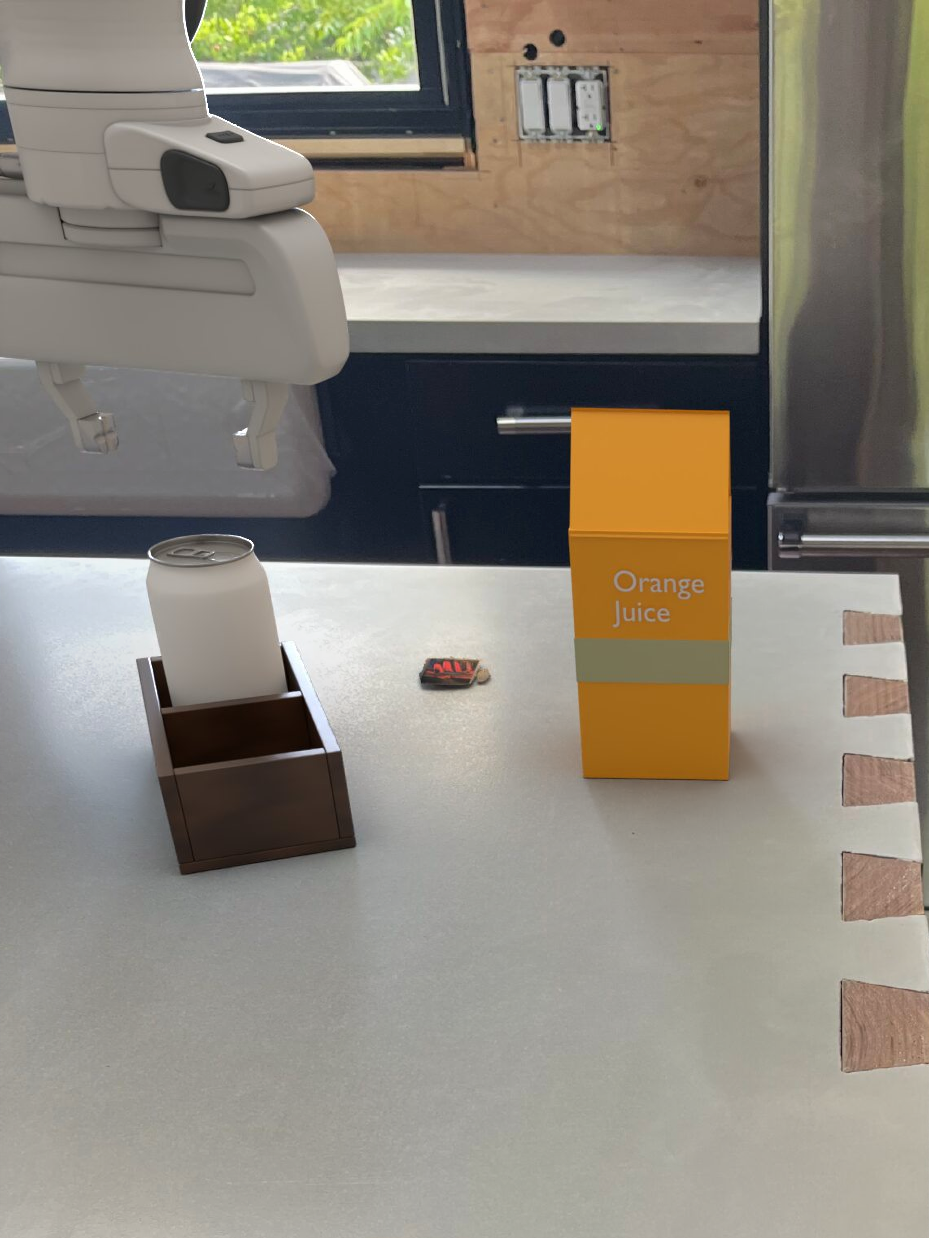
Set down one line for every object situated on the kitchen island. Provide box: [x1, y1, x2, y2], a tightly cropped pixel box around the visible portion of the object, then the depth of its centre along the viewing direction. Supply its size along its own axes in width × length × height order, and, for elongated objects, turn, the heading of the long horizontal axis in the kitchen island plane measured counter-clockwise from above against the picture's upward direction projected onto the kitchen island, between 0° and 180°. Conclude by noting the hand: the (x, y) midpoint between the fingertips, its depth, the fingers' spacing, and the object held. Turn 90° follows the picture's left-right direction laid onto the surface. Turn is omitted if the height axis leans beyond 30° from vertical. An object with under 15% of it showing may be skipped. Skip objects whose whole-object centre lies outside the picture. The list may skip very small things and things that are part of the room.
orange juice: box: [567, 407, 733, 781], centre depth 86 cm, size 8×9×20 cm
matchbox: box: [418, 655, 491, 686], centre depth 101 cm, size 5×5×1 cm
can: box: [145, 533, 288, 707], centre depth 86 cm, size 6×6×12 cm
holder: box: [135, 640, 357, 875], centre depth 85 cm, size 9×17×6 cm, turn 23°
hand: (178, 459), depth 79 cm, fingers open, 8 cm apart
